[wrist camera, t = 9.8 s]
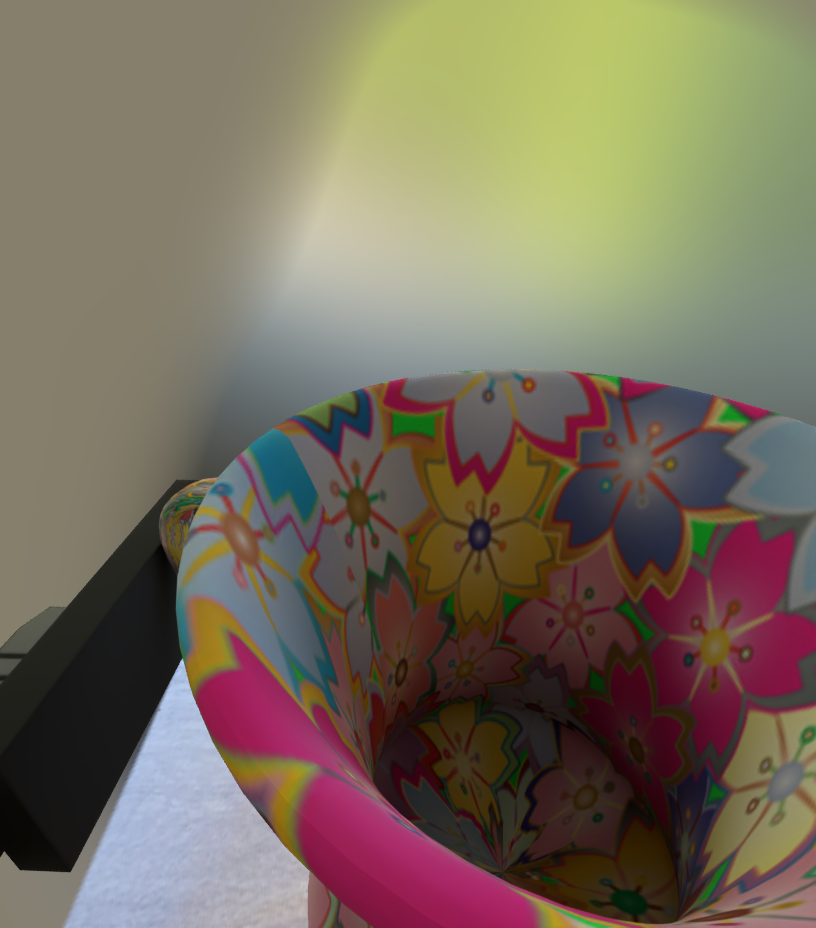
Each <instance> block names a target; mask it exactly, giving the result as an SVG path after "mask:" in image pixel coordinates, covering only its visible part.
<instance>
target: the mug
mask: <svg viewBox="0 0 816 928" xmlns="http://www.w3.org/2000/svg"><path fill="white" fill-rule="evenodd" d="M195 508H198V510H197V512H196V514H195V516H194V509H195ZM159 533H160V539H161V543H162V546H163V549H164V552H165V554H166V557H167V559H168V561H169V563H170V565H171V567H172V569H173V571H174V573H175V575H176V576H177V596H176V616H177V626H178V635H179V645H180V649H181V653H182V657H183V661H184V664H185V668H186V672H187V676H188V680H189V684H190V687H191V690H192V693H193V697H194V699H195V701H196V704H197V706H198V708H199V711H200V713H201V715H202V718H203V720H204V722H205V725H206V727H207V730H208V732H209V734H210V737H211V739H212V741H213V743H214V745H215V747H216V748H217V750H218V752H219V753H220V755H221V757H222V758H223V760H224V762H225V763H226V765H227V767H228V768H229V770H230V772H231V773H232V775H233V777H234V779H235V780H236V782H237V784H238V785H239V787H240V789H241V790H242V792H243V793H244V795H245V796H246V797H247V798H248V800H249V801H250V802H251V804H252V805H253V806H254V807H255V809H256V810H257V811H258V812H259V814H260V815H261V816H262V818H263V819H264V820H265V821H266V823H267V824H268V825H269V826H270V828H271V829H272V830H273V832H274V833H275V834H276V835H277V837H278V838H279V839H280V841H281V842H282V843H283V844H284V846H285V847H286V848H287V849H288V850H289V851H290V852H291V853H292V854H293V855H294V856H295V857H296V858H297V859H298V860H299V861H300V862H301V863H302V864H303V865H304V866H305V867H306V868H307V869H308V870H309V871H310V873H309V884H308V922H309V928H816V427H815V426H812V425H809V424H807V423H804V422H801V421H798V420H795V419H792V418H789V417H787V416H783V415H780V414H777V413H774V412H771V411H768V410H764V409H761V408H758V407H755V406H751V405H747V404H744V403H740V402H736V401H733V400H730V399H726V398H722V397H717V396H714V395H710V394H706V393H702V392H697V391H693V390H688V389H683V388H679V387H674V386H669V385H664V384H659V383H653V382H648V381H641V380H635V379H629V378H622V377H614V376H607V375H600V374H589V373H580V372H568V371H553V370H529V369H528V370H526V369H496V370H473V371H458V372H447V373H439V374H430V375H423V376H417V377H411V378H405V379H400V380H395V381H390V382H385V383H381V384H378V385H373V386H369V387H366V388H362V389H359V390H356V391H353V392H349V393H346V394H343V395H340V396H338V397H335V398H332V399H329V400H327V401H325V402H322V403H320V404H317V405H315V406H313V407H311V408H308V409H306V410H304V411H302V412H301V413H298V414H297V415H295V416H293V417H291V418H289V419H287V420H286V421H284V422H282V423H281V424H279V425H277V426H276V427H274V428H273V429H271V430H270V431H268V432H267V433H266V434H264V435H263V436H262V437H260V438H259V439H257V440H256V441H255V442H254V443H252V444H251V445H250V446H249V447H248V448H247V449H246V450H245V451H243V452H242V453H241V454H240V455H239V456H238V457H237V458H236V459H235V460H234V461H233V462H232V463H231V464H230V465H229V466H228V467H227V468H226V469H225V470H224V471H223V473H222V474H221V475H220V476H219V477H218V478H210V479H204V480H200V481H198V482H195V483H192V484H190V485H188V486H187V487H185V488H184V489H182V490H181V491H179V492H178V493H176V494H175V495H174V496H173V497H171V499H170V500H169V501H168V502H167V503H166V505H165V506H164V508H163V510H162V512H161V515H160V521H159Z"/></svg>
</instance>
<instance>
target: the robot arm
mask: <svg viewBox="0 0 816 928" xmlns="http://www.w3.org/2000/svg"><path fill="white" fill-rule="evenodd" d="M198 481H200V480H176V481H175V482H174V483H173V485H172V486H171V487H170V488H169V489H168V490H167V491H166V493H165V494H164V495H163V496H162V497H161V498H160V500H159V501H158V502H157V503H156V504H155V505H154V507H153V508H152V509H151V510H150V511H149V512H148V514H147V515H146V516H145V517H144V518H143V519H142V520H141V522H140V523H139V524H138V525H137V526H136V527H135V529H134V530H133V531H132V532H131V533H130V534H129V536H128V537H127V538H126V539H125V540H124V541H123V543H122V544H121V545H120V546H119V547H118V548H117V549H116V551H115V552H114V553H113V554H112V555H111V557H110V558H109V559H108V560H107V561H106V562H105V564H104V565H103V566H102V567H101V568H100V569H99V571H98V572H97V573H96V574H95V575H94V576H93V577H92V578H91V580H90V581H89V582H88V583H87V584H86V586H85V587H84V588H83V589H82V590H81V591H80V592H79V594H78V595H77V596H76V597H75V598H74V599H73V601H72V602H71V603H70V604H69V605H68V606H67V607H49V608H47V609H46V610H45V611H43V612H42V613H40V614H39V615H37V616H36V617H34V618H33V619H31V620H30V621H29V622H27V623H26V624H24V625H23V626H21V627H20V628H19V629H18V630H17V631H16V632H15V633H14V634H13V635H12V636H11V637H10V638H9V639H8V641H7V642H6V643H5V644H4V645H3V646H2V647H1V648H0V857H1V855H2V854H3V852H4V851H5V852H6V854H7V855H8V856H9V857H10V859H11V860H12V861H13V862H14V863H15V865H16V866H17V867H18V868H19V869H20V870H29V871H53V872H71V870H72V868H73V867H74V865H75V863H76V861H77V859H78V857H79V855H80V853H81V851H82V849H83V847H84V845H85V843H86V842H87V840H88V838H89V836H90V834H91V832H92V830H93V828H94V826H95V824H96V822H97V820H98V819H99V817H100V815H101V813H102V811H103V809H104V807H105V805H106V803H107V801H108V799H109V798H110V796H111V794H112V792H113V790H114V788H115V786H116V784H117V782H118V780H119V778H120V776H121V775H122V773H123V771H124V769H125V767H126V765H127V763H128V761H129V759H130V757H131V755H132V753H133V752H134V749H135V748H136V746H137V744H138V742H139V740H140V738H141V736H142V734H143V732H144V730H145V729H146V727H147V725H148V723H149V721H150V719H151V717H152V715H153V713H154V711H155V709H156V707H157V705H158V704H159V702H160V700H161V698H162V696H163V694H164V692H165V690H166V688H167V686H168V684H169V682H170V681H171V679H172V677H173V675H174V673H175V671H176V669H177V667H178V665H179V663H180V661H181V659H182V658H183V657H182V653H181V649H180V645H179V635H178V626H177V616H176V596H177V576H176V575H175V573H174V571H173V569H172V567H171V565H170V563H169V561H168V559H167V557H166V554H165V552H164V549H163V546H162V543H161V539H160V533H159V521H160V515H161V512H162V510H163V508H164V506H165V505H166V503H167V502H168V501H169V500H170V499H171V497H173V496H174V495H175V494H176V493H178V492H179V491H181V490H182V489H184V488H185V487H187V486H188V485H190V484H192V483H195V482H198ZM197 510H198V508H195V509H194V516H195V514H196V512H197Z"/></svg>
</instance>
